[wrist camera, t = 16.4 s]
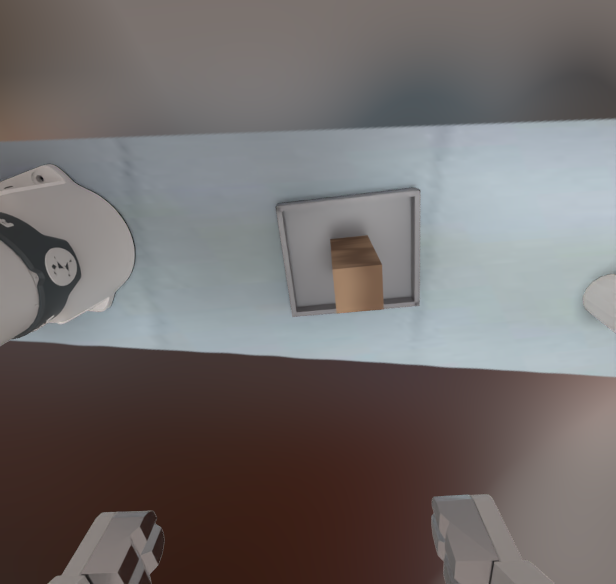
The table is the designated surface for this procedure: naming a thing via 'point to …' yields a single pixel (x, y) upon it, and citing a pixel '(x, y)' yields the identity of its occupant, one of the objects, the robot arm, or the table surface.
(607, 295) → the white cup
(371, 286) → the walnut block
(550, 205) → the table surface
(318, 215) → the charcoal tray
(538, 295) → the table surface
